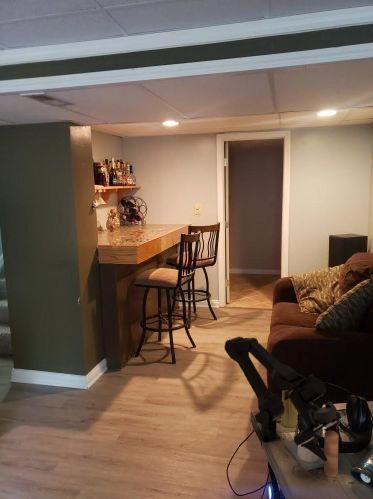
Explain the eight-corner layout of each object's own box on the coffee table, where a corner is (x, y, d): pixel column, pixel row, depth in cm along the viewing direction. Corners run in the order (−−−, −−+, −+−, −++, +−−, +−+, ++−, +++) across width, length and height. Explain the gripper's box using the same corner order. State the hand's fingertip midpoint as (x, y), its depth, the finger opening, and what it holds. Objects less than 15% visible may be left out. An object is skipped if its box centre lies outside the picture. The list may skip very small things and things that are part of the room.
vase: (297, 428, 146) (298, 392, 144) (281, 426, 147) (281, 391, 145) (296, 419, 152) (296, 384, 150) (280, 417, 153) (280, 383, 151)
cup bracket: (285, 445, 136) (285, 432, 135) (308, 441, 138) (308, 427, 138) (305, 470, 124) (305, 455, 123) (330, 465, 126) (330, 450, 125)
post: (321, 469, 124) (322, 431, 122) (332, 467, 125) (333, 429, 123) (328, 478, 120) (329, 439, 118) (340, 475, 121) (341, 437, 119)
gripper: (302, 407, 117) (335, 460, 110) (336, 387, 128) (368, 433, 121) (280, 420, 124) (310, 470, 117) (315, 400, 135) (344, 445, 128)
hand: (334, 454), depth 121 cm, fingers open, 9 cm apart
